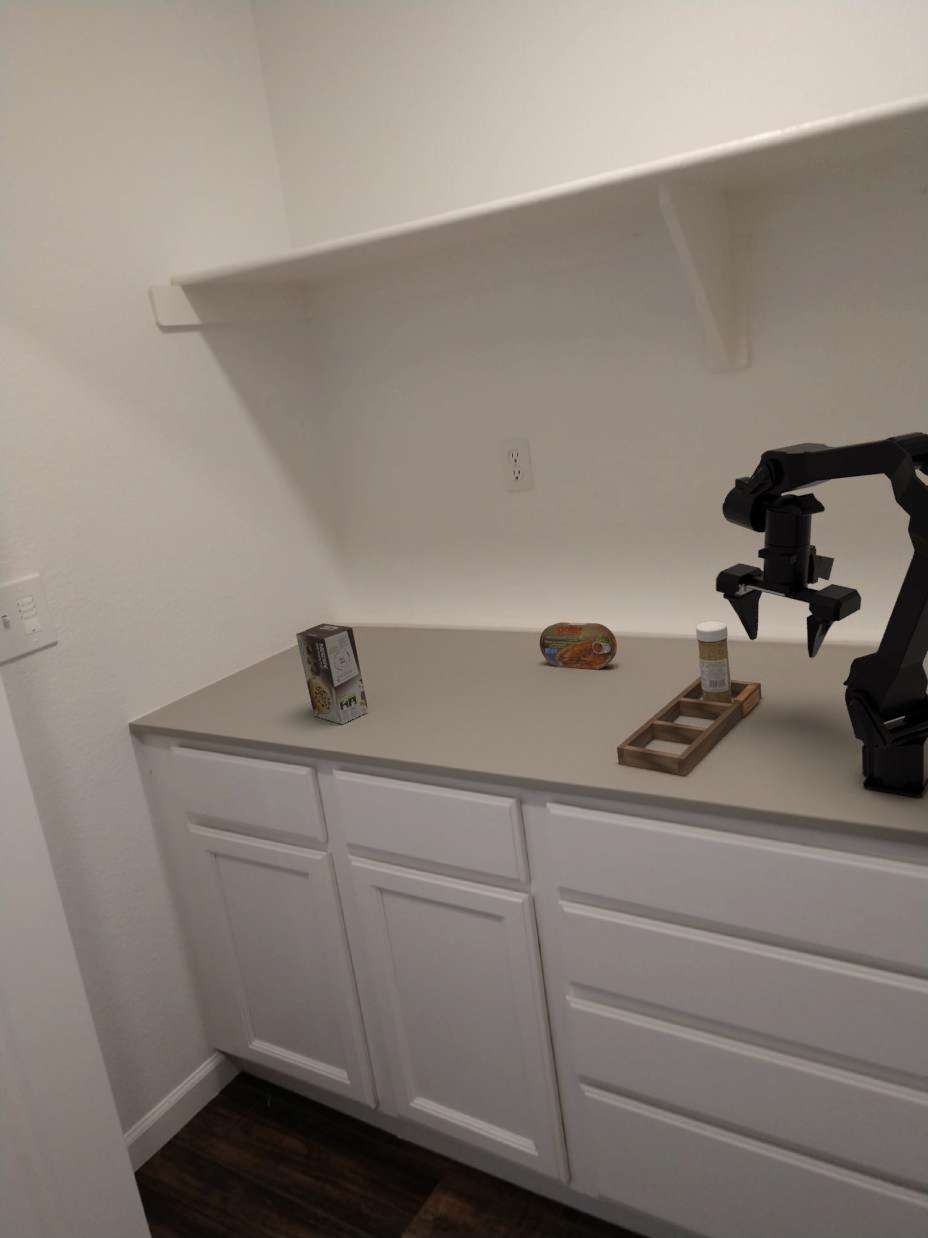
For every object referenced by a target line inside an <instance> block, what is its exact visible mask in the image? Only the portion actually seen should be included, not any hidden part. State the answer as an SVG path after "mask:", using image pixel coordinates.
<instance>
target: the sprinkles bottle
mask: <svg viewBox="0 0 928 1238" xmlns="http://www.w3.org/2000/svg"><path fill="white" fill-rule="evenodd" d="M695 633H696V639H697V643H698V650H699V651H698V652H699V656H698V659H699V671H700V677H701V686H702V693H703V695H702V700H705V701H713V702H721V703H729V704H733V703H734V702H733V701H732V697H731V680H732V679H731V669H730V662H729V649H728V636H729V635H728V634H729V633H728V625H727V624H726V623H724V622H721V621H706V622H702V623H699V624H698V625H697V626H696V628H695Z"/></svg>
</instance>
